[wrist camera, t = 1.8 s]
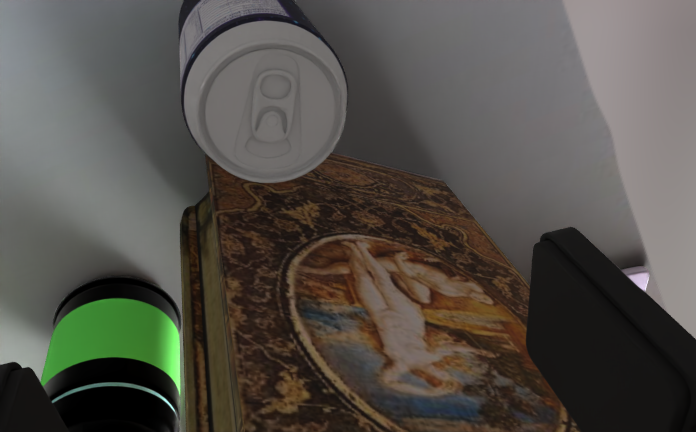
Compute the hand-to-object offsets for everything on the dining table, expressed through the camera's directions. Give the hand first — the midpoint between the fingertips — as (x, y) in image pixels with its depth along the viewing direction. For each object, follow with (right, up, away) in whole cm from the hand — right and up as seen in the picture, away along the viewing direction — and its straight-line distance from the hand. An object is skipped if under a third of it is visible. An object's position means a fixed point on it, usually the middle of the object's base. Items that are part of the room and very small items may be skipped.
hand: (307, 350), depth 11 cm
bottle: (-13, -4, +25) cm, 29 cm away
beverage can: (-5, +12, +18) cm, 22 cm away
